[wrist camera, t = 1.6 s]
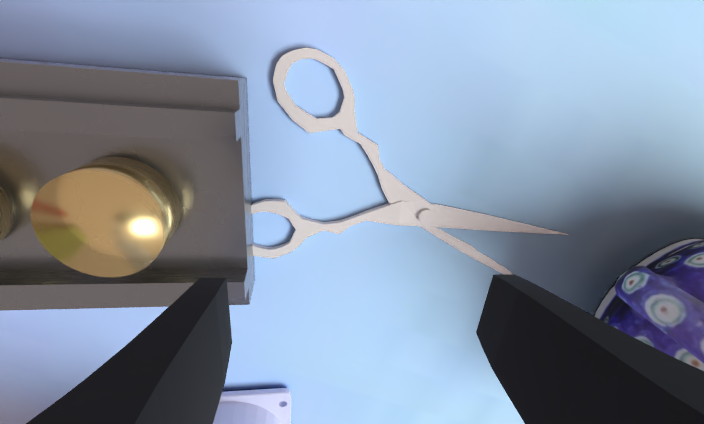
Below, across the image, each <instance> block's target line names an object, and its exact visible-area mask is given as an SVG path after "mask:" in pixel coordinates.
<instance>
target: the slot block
mask: <svg viewBox="0 0 704 424" xmlns="http://www.w3.org/2000/svg"><path fill="white" fill-rule="evenodd" d="M103 157H126V158H130V159H134V160H137V161H140V162H142V163H145V164H147V165H149V166H150V167H152V168H154V169H155V170H157V171H158V172H159V173H161V174H162V175H163V176H164V177H165V178H166V179H167V180H168V181H169V182H170V184H171V185H172V187H173V188H174V190H175V191H176V193H177V196H178V198H179V201H180V206H181V219H180V222H179V225H178V227H177V229H176V231H175V232H174V234H173V235H172V237H171V238H170V239H169V241H168V242H167V243H166V245H165V246H164V247H163V249H162V250H161V252H160V253H159V254H158V256H157V257H156V258H155V259H154V261H153V262H152V263H151V264H149V265H148V266H147V267H146V268H144V269H142V270H141V271H138V272H136V273H134V274H130V275H127V276H121V277H100V276H94V275H89V274H86V273H82V272H79V271H77V270H75V269H72V268H70V267H69V266H67V265H65V264H63V263H62V262H60V261H59V260H57V259H56V258H55V257H54V256H52V255H51V254H50V253H49V252H48V251H47V250H46V249H45V248H44V246H43V245H42V244H41V242H40V241H39V239H38V238H37V236H36V234H35V231H34V229H33V226H32V222H31V207H32V203H33V200H34V198H35V196H36V194H37V193H38V191H39V190H40V189H41V188H42V187H43V186H44V185H45V184H46V183H48V182H49V181H51V180H53V179H55V178H57V177H59V176H61V175H63V174H65V173H67V172H69V171H72V170H74V169H76V168H78V167H80V166H82V165H84V164H86V163H89V162H91V161H93V160H96V159H99V158H103ZM0 186H1V187H2V188H3V189H4V191H5V192H6V194H7V196H8V198H9V200H10V202H11V205H12V209H13V223H12V227H11V229H10V231H9V233H8V234H7V235H6V237H5V238H3V239H2V240H1V241H0V310H38V309H79V308H121V307H163V306H170V305H171V304H172V303H173V302H175V301H176V300H177V299H178V298H179V297H180V296H181V295H182V294H183V293H184V292H185V291H186V290H187V289H188V288H189V287H191V286H192V285H193V284H194V283H195V282H196V281H197V280H198V279H200V278H227V289H228V301H229V305H247V304H250V299H251V295H252V290H253V285H254V281H255V275H254V256H253V226H252V214H251V204H252V201H251V177H250V152H249V127H248V103H247V78H240V77H227V76H215V75H202V74H190V73H177V72H165V71H152V70H140V69H128V68H115V67H103V66H90V65H78V64H65V63H53V62H40V61H28V60H15V59H3V58H0Z"/></svg>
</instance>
